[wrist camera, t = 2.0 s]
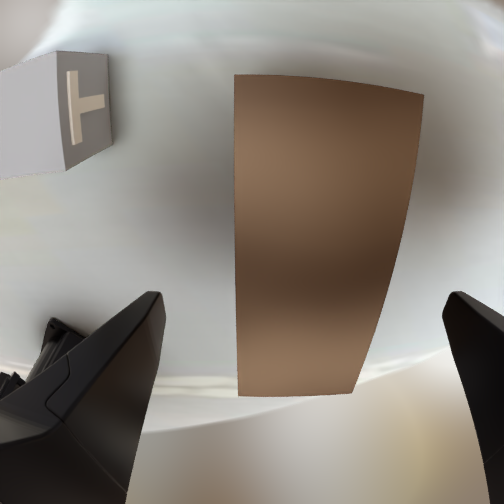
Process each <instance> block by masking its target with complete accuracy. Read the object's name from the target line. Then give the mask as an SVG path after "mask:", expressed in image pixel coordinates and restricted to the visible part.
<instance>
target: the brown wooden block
mask: <svg viewBox="0 0 504 504" xmlns="http://www.w3.org/2000/svg"><path fill="white" fill-rule="evenodd" d="M423 100H424V95H422V94H418V93H413V92H409V91H404V90H399V89H393V88H388V87H382V86H376V85H370V84H364V83H357V82H349V81H341V80H333V79H323V78H312V77H299V76H281V75H234V210H235V285H236V333H237V371H238V396H251V397H289V396H318V395H336V394H349V393H352V392H353V389H354V387H355V384H356V382H357V379H358V377H359V374H360V371H361V369H362V366H363V363H364V361H365V358H366V355H367V352H368V350H369V347H370V344H371V341H372V338H373V335H374V332H375V329H376V326H377V323H378V320H379V317H380V314H381V311H382V308H383V304H384V301H385V298H386V294H387V291H388V287H389V284H390V280H391V277H392V273H393V269H394V266H395V262H396V258H397V254H398V250H399V246H400V242H401V238H402V233H403V229H404V224H405V220H406V215H407V210H408V205H409V200H410V195H411V190H412V184H413V178H414V172H415V166H416V160H417V153H418V146H419V138H420V130H421V121H422V111H423Z"/></svg>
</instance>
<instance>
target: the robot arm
mask: <svg viewBox="0 0 504 504" xmlns="http://www.w3.org/2000/svg"><path fill="white" fill-rule="evenodd" d="M442 319H443V322H444V326H445V329H446V333H447V336H448V340H449V344H450V348H451V351H452V355H453V358H454V361H455V364H456V367H457V370H458V373H459V375H460V379H461V382H462V385H463V388H464V391H465V394H466V398H467V401H468V404H469V408H470V411H471V415H472V418H473V422H474V426H475V430H476V434H477V438H478V442H479V446H480V450H481V455H482V459H483V463H484V470H485V474H486V480H487V486H488V492H489V499H490V504H504V316H502V315H501V314H499V313H498V312H496V311H494V310H493V309H491V308H489V307H488V306H486V305H484V304H483V303H481V302H479V301H478V300H476V299H474V298H473V297H471V296H469V295H468V294H466V293H464V292H462V291H454V292H451V293H450V295H449V297H448V300H447V302H446V305H445V307H444V309H443V313H442ZM165 323H166V313H165V307H164V302H163V296H162V294H161V292H157V291H147V292H145V293H144V294H143V295H141V296H140V297H139V298H137V299H136V300H135V301H134V302H132V303H131V304H130V305H128V306H127V307H126V308H124V309H123V310H122V311H120V312H119V313H118V314H116V315H115V316H114V317H113V318H111V319H110V320H109V321H107V322H106V323H105V324H103V325H102V326H101V327H100V328H98V329H97V330H96V331H94V332H93V333H92V334H91V335H89V336H88V337H87V338H84V337H82V336H81V335H79V334H77V333H76V332H74V331H72V330H71V329H69V328H68V327H66V326H64V325H63V324H61V323H60V322H58V321H57V320H55V319H50V320H49V322H48V324H47V328H46V332H45V336H44V340H43V345H42V349H41V354H40V356H39V358H38V359H37V361H36V363H35V365H34V366H33V368H32V370H31V372H30V373H29V375H28V377H27V379H26V381H24V380H23V379H21V378H20V376H19V375H18V374H17V373H16V372H15V371H14V372H13V373H12V375H11V376H10V375H9V374H5V373H3V372H1V373H0V504H125V502H126V497H127V491H128V487H129V482H130V477H131V473H132V469H133V464H134V460H135V456H136V451H137V447H138V443H139V439H140V435H141V431H142V427H143V423H144V419H145V415H146V411H147V407H148V403H149V400H150V396H151V392H152V388H153V385H154V381H155V377H156V374H157V370H158V366H159V360H160V354H161V347H162V341H163V335H164V329H165Z"/></svg>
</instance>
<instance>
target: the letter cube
mask: <svg viewBox="0 0 504 504" xmlns="http://www.w3.org/2000/svg"><path fill="white" fill-rule="evenodd" d="M111 145H113V143H112V132H111V119H110V103H109V80H108V55H106V54H96V53H84V52H69V51H55V52H51V53H48V54H45V55H42V56H39V57H36V58H33V59H30V60H28V61H25V62H22V63H20V64H17V65H14V66H12V67H9V68H7V69H4V70H2V71H0V180H2V179H9V178H15V177H22V176H29V175H37V174H45V173H53V172H62V171H67V170H68V169H70V168H72V167H74V166H75V165H77V164H79V163H80V162H82V161H84V160H86V159H87V158H89V157H91V156H93V155H95V154H97V153H98V152H100V151H102V150H104V149H106V148H108V147H110V146H111Z"/></svg>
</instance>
